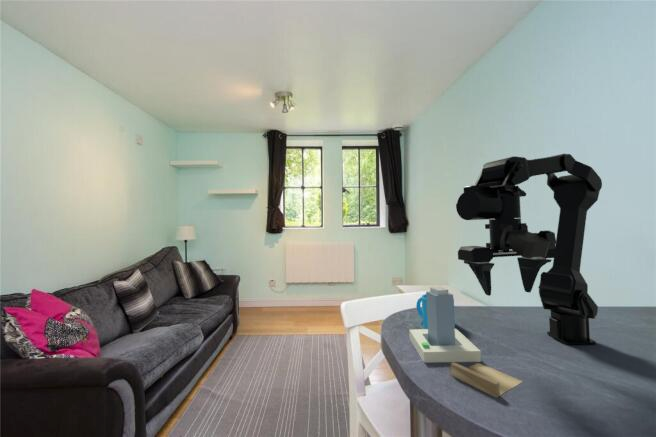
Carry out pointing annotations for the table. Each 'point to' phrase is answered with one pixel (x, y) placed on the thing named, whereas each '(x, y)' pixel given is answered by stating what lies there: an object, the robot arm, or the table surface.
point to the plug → (440, 317)
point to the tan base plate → (485, 378)
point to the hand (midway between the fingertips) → (508, 293)
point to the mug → (425, 310)
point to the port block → (444, 348)
